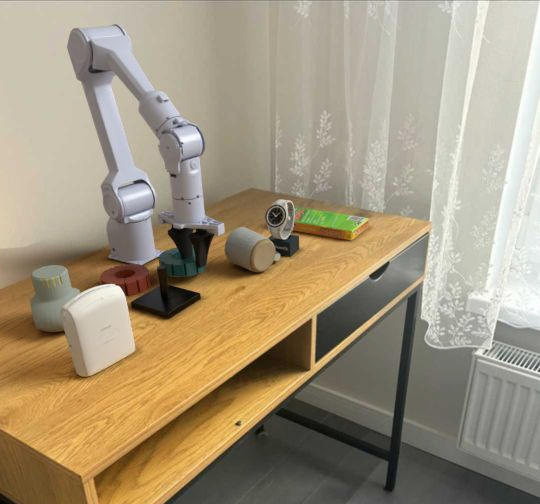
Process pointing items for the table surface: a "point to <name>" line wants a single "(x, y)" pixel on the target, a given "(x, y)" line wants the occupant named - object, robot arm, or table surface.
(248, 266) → the ceramic mug
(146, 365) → the table surface
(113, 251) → the robot arm
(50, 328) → the air freshener
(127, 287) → the brick ring
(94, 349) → the photo printer
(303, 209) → the game box
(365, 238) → the table surface
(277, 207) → the watch
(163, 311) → the peg stand
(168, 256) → the teal ring
